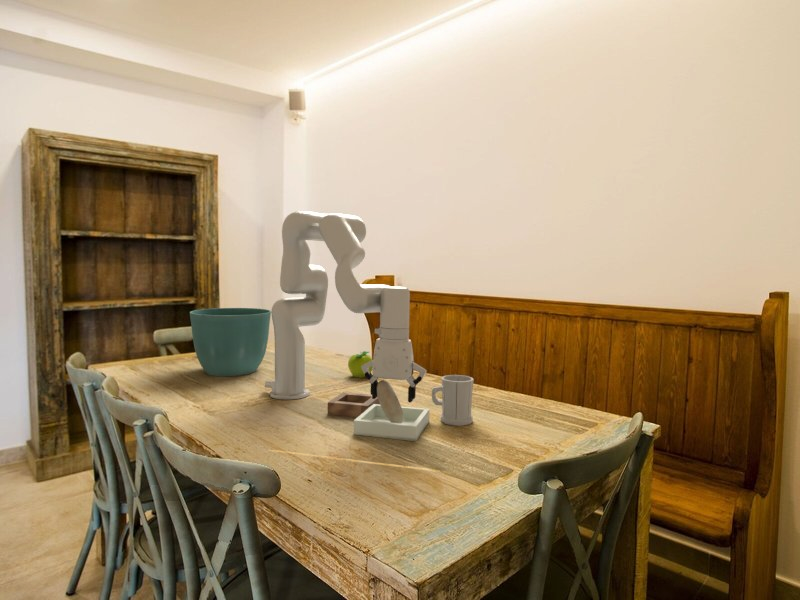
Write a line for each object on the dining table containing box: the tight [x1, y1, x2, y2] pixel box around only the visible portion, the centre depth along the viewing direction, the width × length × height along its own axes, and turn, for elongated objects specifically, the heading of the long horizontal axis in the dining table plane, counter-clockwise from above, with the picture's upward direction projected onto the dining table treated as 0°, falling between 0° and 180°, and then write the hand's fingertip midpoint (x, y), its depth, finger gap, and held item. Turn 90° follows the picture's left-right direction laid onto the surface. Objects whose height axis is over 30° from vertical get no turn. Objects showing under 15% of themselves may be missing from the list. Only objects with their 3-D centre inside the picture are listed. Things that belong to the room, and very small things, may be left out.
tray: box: [353, 404, 430, 442], centre depth 131 cm, size 16×16×4 cm
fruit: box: [347, 350, 373, 379], centre depth 190 cm, size 9×9×10 cm
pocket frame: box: [327, 392, 380, 418], centre depth 146 cm, size 12×12×4 cm
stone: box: [377, 379, 403, 423], centre depth 131 cm, size 6×6×12 cm
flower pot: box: [189, 307, 272, 377], centre depth 196 cm, size 30×30×24 cm
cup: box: [431, 374, 475, 427], centre depth 137 cm, size 10×9×12 cm
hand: (392, 399), depth 131 cm, fingers open, 9 cm apart
